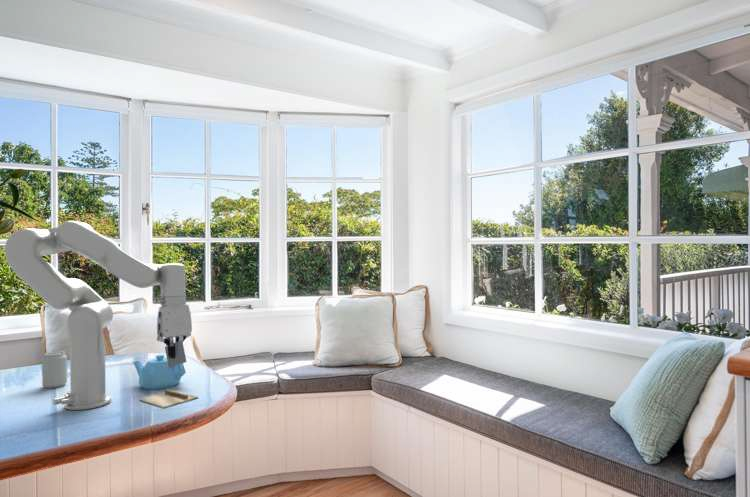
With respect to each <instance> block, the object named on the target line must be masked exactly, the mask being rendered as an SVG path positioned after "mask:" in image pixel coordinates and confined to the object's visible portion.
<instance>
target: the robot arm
mask: <svg viewBox="0 0 750 497" xmlns="http://www.w3.org/2000/svg"><path fill="white" fill-rule="evenodd" d="M93 228H94V227H92V226H91V225H90V224H88V223H86V222H81V221H76V220H68V221H64V222H62V223H61V224H60V225H58V226H56V227H51V228H46V229H45V228H43V229H40V228H31V227H28V228H27V227H26V228H20V229H18V230H15V231H14V232H13V233H11V234H10V235H9V236H8V238H7V240H6V242H5V245H4V256H5V261H6V263H7V265H8V266H9V267H10V269H11V270H12V271H13V272H14V273H15V274H16V275H17V276H18V277H19V278H20V279H21V280H23V282H24V283H26V285H27V286H29V287H30V288H31V289H32V290H33V291H34V292H35V293H36V294H37V295H38V296H39V297H40V298H41V299H42V300H44V301H45V303H46V304H47V305H49V306H50V307H51V308H52V309H56V310H67V309H68V310H69V311H70V313H69V315H68V316H67V322H66V328H67V332H68V333H67V334H68V340H69V359H70V360H69V366H70V367H69V368H70V370H69V371H70V376H69V377H70V391H67V392H66V394H65V395H64V396H62V397H55V398H52V405H53V406H56V405H60V404H61V405H64V408H65V409H66V410H71V411H83V410H90V409H95V408H99V407H102V406H105V405H107V404H110V402H111V401H112V397H111V395H108V394H107V393H106V392H107V391H106V387H107V384H106V341H105V335H104V328H106V327H108V326H109V325H110V323H112V321H113V317H114V313H113V309H112V307H111V306H110V305H109V304H108V302H106V300H105V299H103V298H102V297H101V296H100V295H99V294H98V292H96V291H95V290H94V289H93V288H92V287H91V286H89V284H87V283H86V282H85V281H83V280H82V279H79V278H74V277H70V278H68V277H66V276H64V274H62V273H61V272H60V271H58V269H57V268H55V267H54V266H53V265H52V264H51V263H50V262H49V261H47V260H45V259H44V258H43V257H42V256H50V255H55V254H60V253H61V254H62V253H65V252H70V251H71V252H74V253H76V254H78V255H80V256H81V257H84V258H86V259H87V260H89V261H91V262H93V263H94V264H97V265H99V266H100V267H101V268H102V269H104V270H106V271H107V272H109V273H110V274H112V275H113V276H115V277H116V278H118V279H120V280H122V281H124V282H125V283H128V284H130V285H132V286H133V287H136V288H141V289H145V288H146V289H147V288H150V287H156V286H160V298H159V299H157V300H156V301H157V304H160V306H159V307H158V311H157V319H156V320H157V321H156V335H157V336H156V342H161V343H163V344H165V347H166V346H168V356H169V358H173V359H174V358H175V346H174V343H175V342H178V341H182V342H183V343H184V341H185V340H186V339H188V338H189V337H191V336H192V332H193V331H192V330H193V326H192V324H193V323H192V315H191V310H190V309H191V308H190V306H189V304H187V298H186V296H187V295H186V267H185V265H184V264H183V263H164V264H159V263H144V262H143V261H140V260H139V259H137V258H135V257H133V256H131V255H130V254H128V253H127V252H125V251H123V250H122V249H121V248H120V246H119V245H118V243H117V242H115V241H114V240H112V239H110V238H108V237H106V236H105V235H102V234H100V233H99V232H97V231H95V230H94V229H93Z"/></svg>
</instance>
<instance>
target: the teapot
mask: <svg viewBox="0 0 750 497" xmlns="http://www.w3.org/2000/svg"><path fill="white" fill-rule="evenodd" d="M133 365H134V367H135V370H136V372H137V374H138V377H139V378H138V384H139V385H140V387H142V389H144V390H146V389H147V390H161V388H163V389H168V388H171V386H172V387H174V385H175V386H176V385H178V383H179V382H180V381H181V379H182V377H183V376H184V375H185V374H186V368H185V365H184V363H182V364H180V365H177V366H174V367H170V368H169V366H168V361H167V357H165V354H157V355H155V358H152V359H149V360H147V362H146V363H145V364H144V365H143V364H142V363H141V361H140V360H135V361H133ZM167 387H168V388H167Z"/></svg>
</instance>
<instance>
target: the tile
mask: <svg viewBox="0 0 750 497" xmlns="http://www.w3.org/2000/svg"><path fill="white" fill-rule="evenodd" d="M174 346H175V358H174V359H173V358H169V356H168V346H166V345H165V346H164V350H165V355H166V358H167V361H168V366H169V368H170V367H174V366H177V365H180V364H182V363H183V364H184V363H185V364H186V363H187V356H186V353H185V348H184V347H185V346H184V341H183V342H182V341H178V342H175V341H174Z"/></svg>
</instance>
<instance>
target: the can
mask: <svg viewBox="0 0 750 497" xmlns="http://www.w3.org/2000/svg"><path fill="white" fill-rule="evenodd" d="M65 353H66V352H65V351H62V350H61V351H59V350H58V351H51V352H47V353H44V356H43V357H42V358H41V361H42V362H41V366H42V368H41V369H42V370H41V372H42V375H41V376H42V377H41V378H42V387H44V388H46V389H55V388H60V387H64V386H65V385H66V384H67V383H68V357H67V356H68V355H67V354H65Z"/></svg>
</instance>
